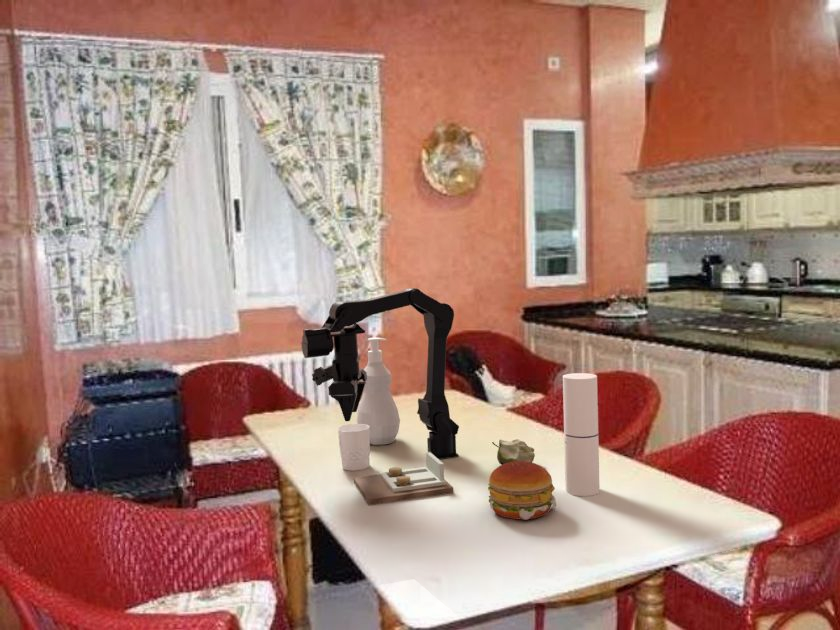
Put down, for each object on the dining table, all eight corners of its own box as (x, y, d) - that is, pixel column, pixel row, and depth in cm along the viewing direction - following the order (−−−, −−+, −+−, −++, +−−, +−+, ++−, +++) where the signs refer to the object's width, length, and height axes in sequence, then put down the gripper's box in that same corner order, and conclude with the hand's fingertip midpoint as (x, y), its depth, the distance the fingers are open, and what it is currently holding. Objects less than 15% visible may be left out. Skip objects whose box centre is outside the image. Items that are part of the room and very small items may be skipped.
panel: (429, 469, 169) (428, 451, 168) (445, 484, 157) (445, 464, 157) (380, 476, 165) (379, 457, 165) (393, 492, 154) (392, 471, 153)
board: (431, 472, 171) (430, 458, 171) (453, 492, 156) (452, 477, 155) (353, 482, 166) (352, 468, 165) (368, 505, 150) (367, 489, 150)
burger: (486, 501, 150) (484, 454, 149) (551, 499, 149) (549, 452, 149) (490, 525, 137) (488, 474, 136) (561, 523, 136) (560, 472, 135)
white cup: (366, 472, 173) (364, 431, 172) (335, 471, 175) (333, 431, 174) (375, 462, 181) (373, 423, 180) (345, 461, 183) (343, 423, 182)
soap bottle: (409, 445, 195) (404, 339, 193) (369, 451, 191) (363, 343, 189) (388, 432, 211) (383, 333, 208) (351, 437, 207) (345, 337, 204)
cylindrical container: (580, 498, 149) (577, 380, 147) (558, 489, 155) (555, 375, 153) (606, 491, 152) (604, 376, 150) (584, 483, 158) (581, 371, 156)
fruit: (490, 474, 171) (485, 441, 172) (513, 468, 178) (508, 436, 179) (521, 474, 165) (517, 439, 166) (543, 467, 172) (539, 434, 173)
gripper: (322, 349, 182) (326, 409, 184) (304, 361, 164) (309, 427, 165) (365, 347, 181) (369, 407, 183) (352, 358, 163) (357, 425, 164)
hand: (351, 416), depth 174 cm, fingers open, 9 cm apart
